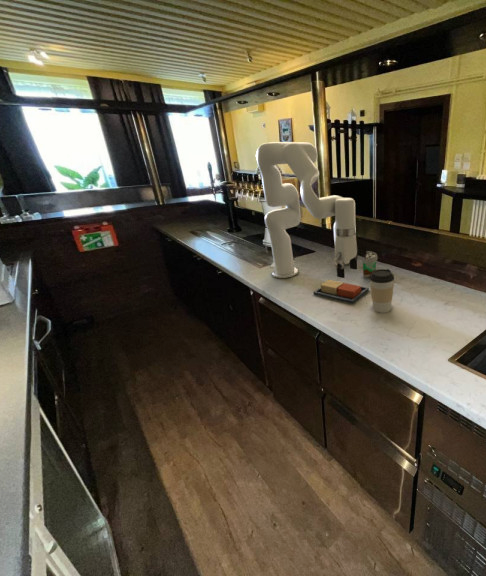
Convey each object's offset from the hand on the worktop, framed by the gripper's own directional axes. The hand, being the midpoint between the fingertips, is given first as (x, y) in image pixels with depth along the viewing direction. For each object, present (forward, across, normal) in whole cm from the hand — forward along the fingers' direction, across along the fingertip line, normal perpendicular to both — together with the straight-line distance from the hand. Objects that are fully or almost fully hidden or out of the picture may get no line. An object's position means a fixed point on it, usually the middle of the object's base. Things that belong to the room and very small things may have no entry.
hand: (347, 273), depth 122 cm
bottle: (+11, -33, -23) cm, 42 cm away
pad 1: (+10, 0, -8) cm, 12 cm away
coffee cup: (+10, +4, +18) cm, 21 cm away
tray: (+10, 0, -3) cm, 11 cm away
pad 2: (+10, 0, +1) cm, 10 cm away
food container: (+10, -24, -1) cm, 26 cm away
